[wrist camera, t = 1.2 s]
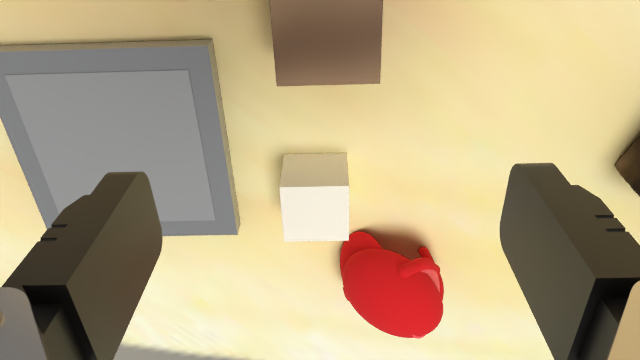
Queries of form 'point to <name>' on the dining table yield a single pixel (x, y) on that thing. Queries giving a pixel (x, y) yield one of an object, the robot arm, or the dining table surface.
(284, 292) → the dining table surface
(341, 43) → the walnut block
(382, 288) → the red rounded lumpy piece
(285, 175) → the cream block
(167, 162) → the plate
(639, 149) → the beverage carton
